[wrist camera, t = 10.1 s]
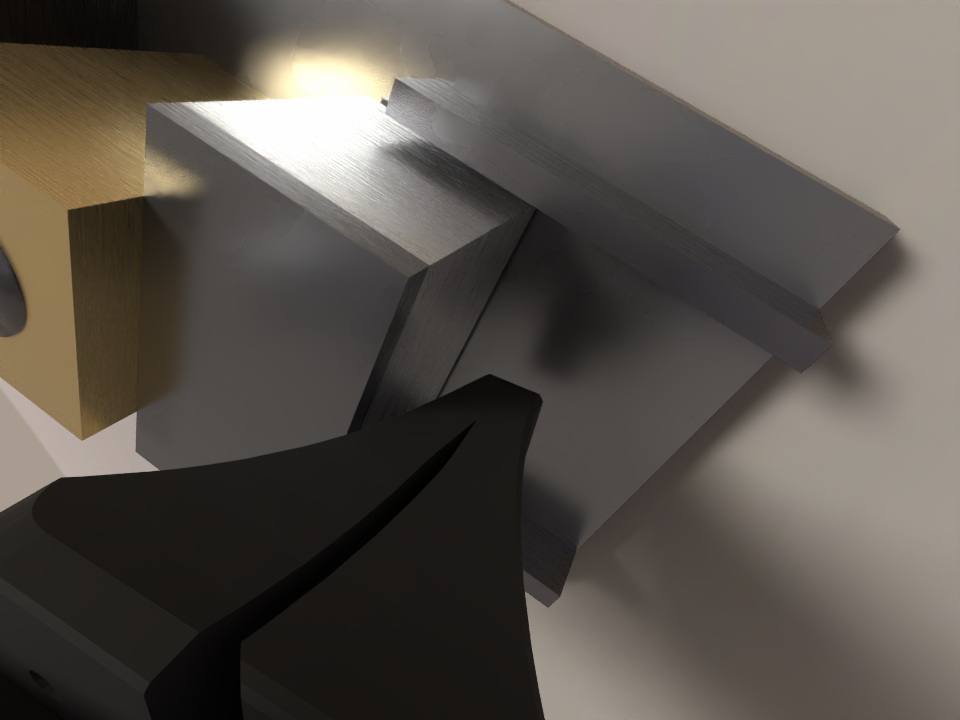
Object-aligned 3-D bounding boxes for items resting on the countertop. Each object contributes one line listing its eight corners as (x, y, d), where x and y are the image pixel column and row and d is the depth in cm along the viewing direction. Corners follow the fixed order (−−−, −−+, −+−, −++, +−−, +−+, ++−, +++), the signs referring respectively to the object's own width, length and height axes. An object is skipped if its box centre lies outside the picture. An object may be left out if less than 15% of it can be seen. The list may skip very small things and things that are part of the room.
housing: (358, 156, 11) (62, 211, 6) (313, 315, 14) (78, 442, 9) (199, 54, 12) (-187, 32, 7) (184, 226, 14) (-105, 299, 9)
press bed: (885, 215, 9) (1067, 377, 4) (547, 563, 16) (461, 778, 11) (28, -275, 11) (-526, -556, 6) (62, 216, 18) (-188, 264, 13)
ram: (539, 201, 10) (409, 277, 6) (416, 435, 14) (291, 571, 10) (369, 96, 10) (146, 103, 6) (299, 352, 14) (135, 451, 10)
